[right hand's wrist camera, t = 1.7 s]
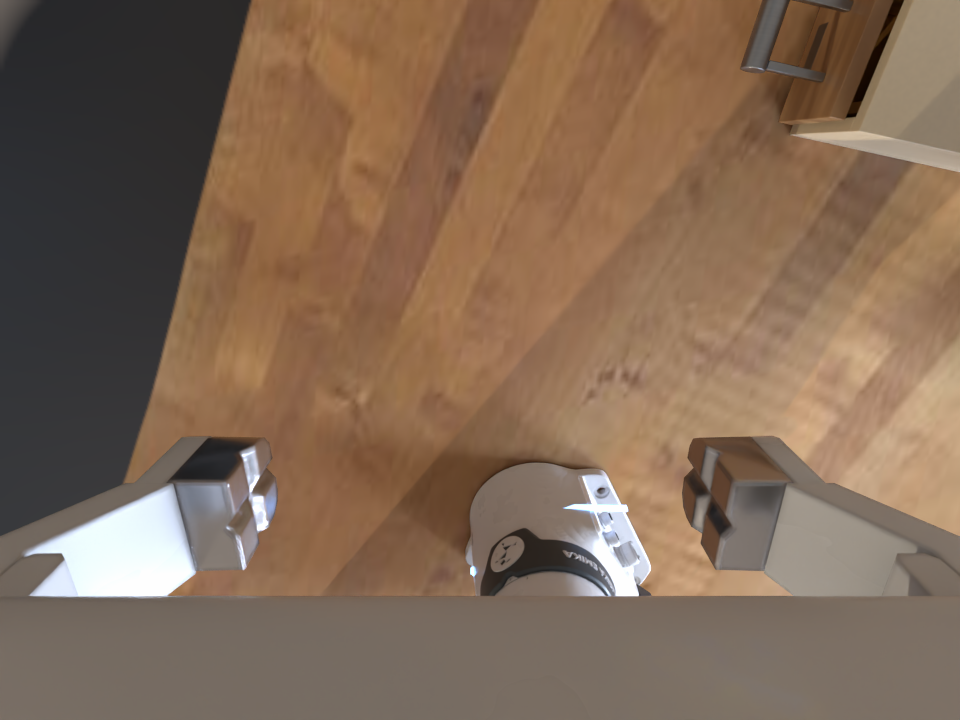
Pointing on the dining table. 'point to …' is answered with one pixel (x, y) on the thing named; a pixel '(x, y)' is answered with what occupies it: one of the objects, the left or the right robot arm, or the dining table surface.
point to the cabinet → (909, 92)
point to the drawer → (825, 56)
